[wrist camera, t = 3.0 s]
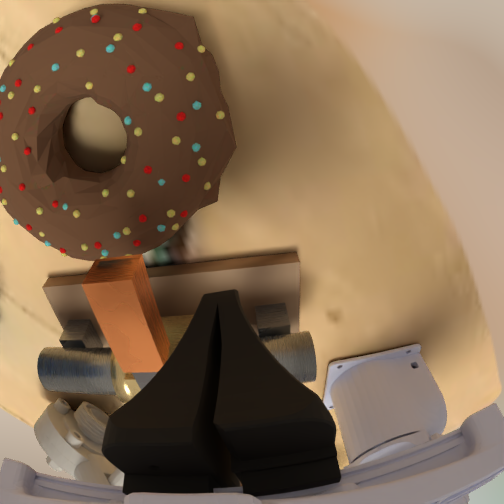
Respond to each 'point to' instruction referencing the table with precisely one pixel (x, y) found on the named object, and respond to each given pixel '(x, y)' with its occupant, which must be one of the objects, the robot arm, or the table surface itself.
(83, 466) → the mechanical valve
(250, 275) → the walnut board
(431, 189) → the table surface
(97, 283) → the valve lever
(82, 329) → the pipe and valve body
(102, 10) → the donut
